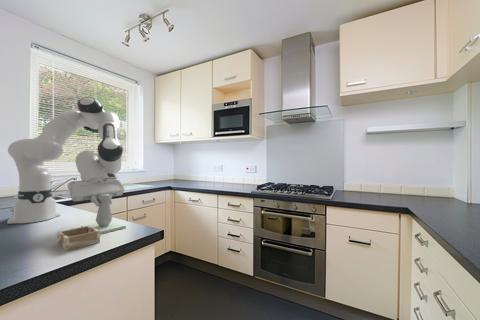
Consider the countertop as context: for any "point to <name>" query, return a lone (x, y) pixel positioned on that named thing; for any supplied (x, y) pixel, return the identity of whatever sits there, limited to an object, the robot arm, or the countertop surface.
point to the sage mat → (107, 227)
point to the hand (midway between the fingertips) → (104, 204)
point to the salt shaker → (104, 211)
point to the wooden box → (78, 237)
